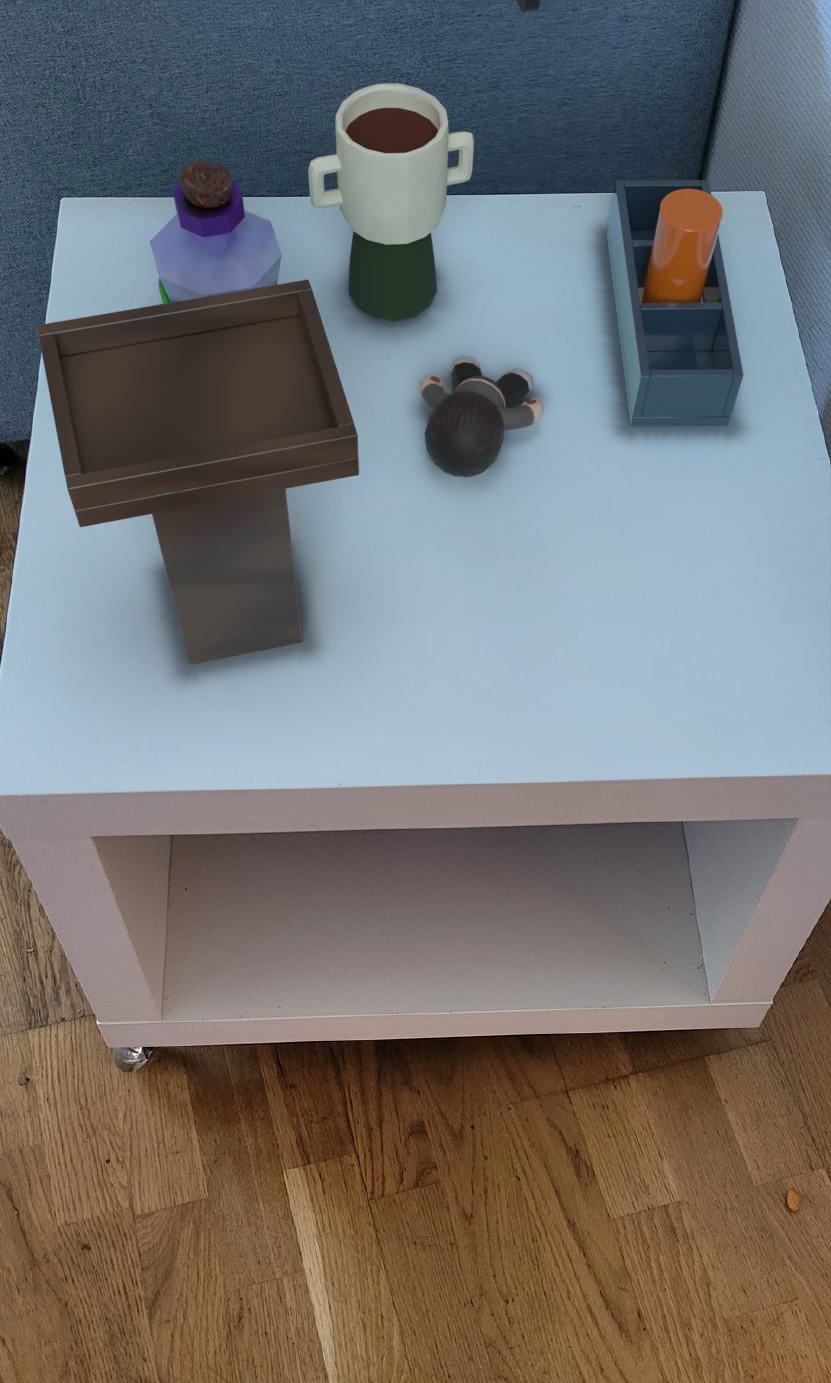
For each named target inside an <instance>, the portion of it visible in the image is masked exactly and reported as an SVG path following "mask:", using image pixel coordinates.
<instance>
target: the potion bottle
mask: <svg viewBox="0 0 831 1383" xmlns="http://www.w3.org/2000/svg"><path fill="white" fill-rule="evenodd" d="M179 177H180V178H179V179H180V180H179V181H180V184H179V185H178V186H176V188H174V190H172V195H173V200H174V201H173V202H174V207H175V211H176V214H175V215H174V216H173V217H172V218H171V219H170V220H168V222H167V223H166V224H165V225H164V226H163V227H162V228H161V229H160V230H159V231H158V232H157V233H156V234H155V235H154V236H153V237H152V238H151V239H150V241H149V244H150V248H151V251H152V255H153V260H154V264H155V267H156V271H157V275H158V282H157V284H158V291H159V295H160V298H161V301H162V304H166V303H171V302H177V301H183V300H189V299H195V298H201V297H207V296H213V295H219V294H225V293H231V292H237V291H242V290H248V289H254V288H260V287H266V286H272V285H278V280H279V275H280V274H279V273H280V268H281V261H282V253H281V250H280V246H279V243H278V240H277V237H276V233H275V230H274V228H273V223H272V221H271V220H270V219H266V218H265V217H262V216H260V215H257V214H255V213H252V212H250V211H248V210H245V204H244V198H243V194H242V191H241V188H240V185H239V182H238V180H236V179H233V177H232V175H231V173H230V171H229V170H228V169H227V168H226V167H225V166H224V165H223V164H221V163H217V162H214V161H209V160H205V159H203V160H196V161H193V162H191V163H189V164H187V165H186V166H184V168H183V169H182V170H181V173H180V176H179Z"/></svg>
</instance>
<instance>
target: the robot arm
mask: <svg viewBox="0 0 831 1383" xmlns="http://www.w3.org/2000/svg"><path fill="white" fill-rule="evenodd" d="M515 1H516V3H517V5H518V7H519V9H520V12H521V13H522V14H525V13H532V12H537V11H539V10H540V3H541V0H515Z"/></svg>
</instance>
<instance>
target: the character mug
mask: <svg viewBox="0 0 831 1383" xmlns="http://www.w3.org/2000/svg"><path fill="white" fill-rule="evenodd" d="M447 113H448V112H447V109H446V108H445V107H444V106H443V105H442V104H441V102H440V101H439V99H437V97H435V96H434V95H432V94H430V93H428V92H426V91H424V90H422V89H421V88H420V87H415V86H413V85H412V86H411V85H407V84H404V83H393V82H392V83H389V82H386V83H385V82H384V83H376V84H371V85H368V86H365V87H362V88H361V89H358V90H356V91H354V92H353V93H352V94H351V95H349V96H348V97H347V98H345V99H344V100H343V101H342V102H341V104H340V106H339V108H338V109H337V112H336V114H335V120H334V121H335V122H334V128H335V145H336V146H335V147H336V149H335V150H336V153H335V154H329V155H324V156H319V157H315V158H313V159H312V160H310V163H309V166H308V171H307V173H308V186H309V188H308V189H309V200H310V203H311V205H312V207H314V208H315V209H322V210H324V209H328V208H335V207H339V211H340V213H341V214H342V216H343V218H344V219H345V221H346V223H347V224H348V226H349V228H350V229H351V231H352V238H351V246H350V254H349V265H348V282H347V283H348V284H347V285H348V295H349V297H350V298H351V299H352V301H353V302H354V303H355V304H356V306H357V307H358V308H359V309H361V310H362V311H363V312H366V313H367V314H369V315H370V316H372V317H374V318H376V319H377V318H378V319H383V320H388V321H391V322H392V321H393V322H398V321H402V320H407V319H408V320H409V319H413V318H415V317H417V316H419V315H420V314H421V313H423V312H424V311H425V310H427V309H428V308H429V307H430V306H431V305H432V302H433V300H434V298H435V297H436V295H437V292H438V285H437V284H438V283H437V272H436V263H435V262H436V261H435V253H434V245H433V237H432V232H433V231H434V230H435V229H436V228H438V226H439V224H440V222H441V219H442V217H443V213H444V210H445V208H446V206H447V192H448V191H447V190H448V186H452V185H457V184H462V183H465V182H467V181H469V180H470V179H471V176H472V175H473V166H474V151H475V150H474V149H475V138H474V135H473V133H472V132H470V131H465V130H461V131H457V132H451V133H450V132H449V130H450V129H449V121H448V120H449V119H448V114H447ZM453 151H459V152H458V165H456V166H451V167H449V166H448V164H449V161H448V160H449V152H453ZM333 173H336V180H337V188H333V189H327V190H326V189H325V175H329V174H333Z"/></svg>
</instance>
